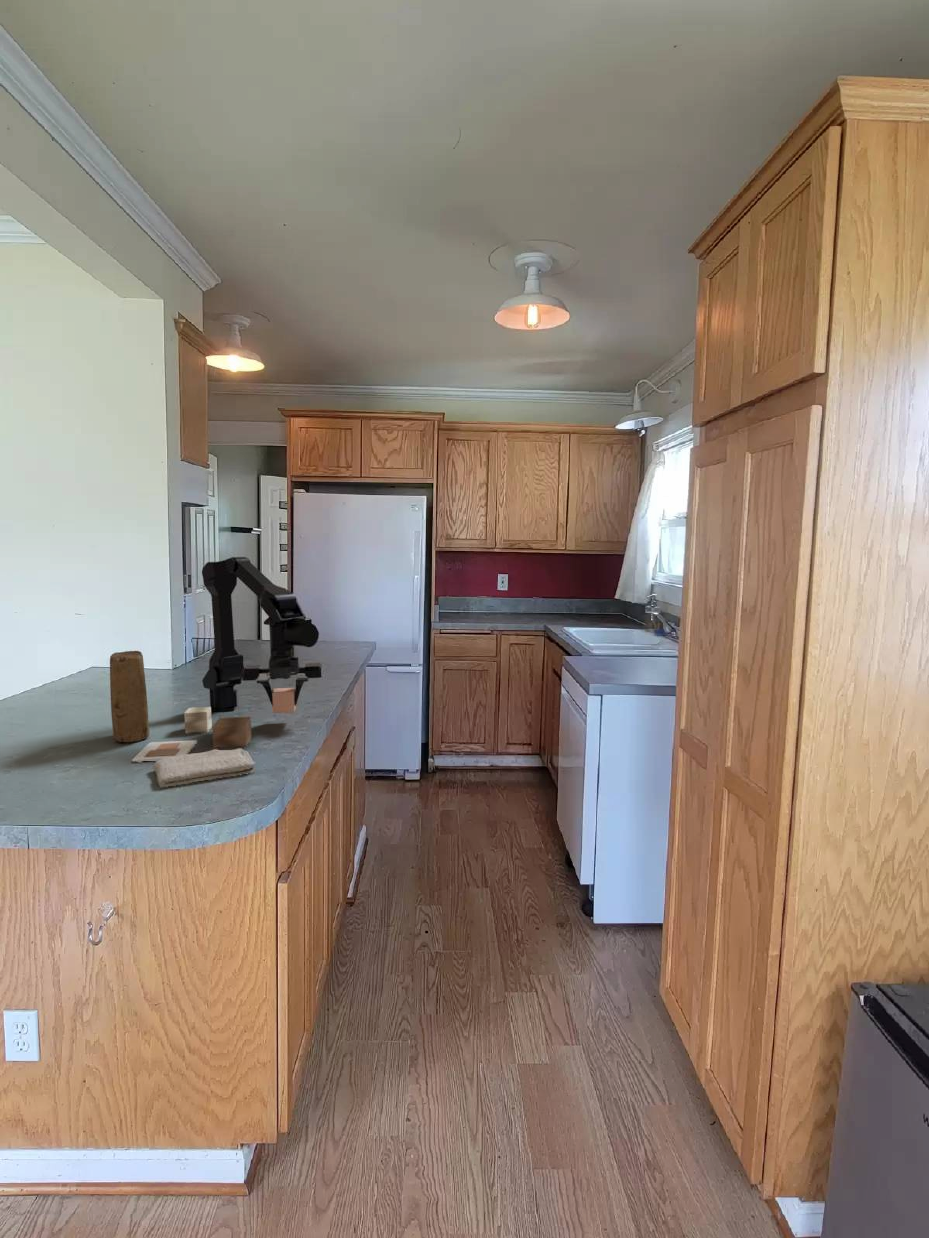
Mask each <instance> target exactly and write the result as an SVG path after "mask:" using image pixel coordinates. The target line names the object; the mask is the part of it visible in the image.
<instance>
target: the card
mask: <svg viewBox="0 0 929 1238" xmlns="http://www.w3.org/2000/svg"><path fill="white" fill-rule="evenodd" d="M195 744H196V745H197V744H198V739H197V740H196V739H194V740H174V741H172V740H171V741H158V742H157V741H155V742H154V741H153V742H149V743H148V744H146V745H145V746H144V748H142V749H141V751H139V752H138V754H136V755H135V756H134V758H132V759H131V762H132V761H148V760H161V759H163V758H170V757H176V756H181V755H186V754H190V752H191V751H192V750H193V749H194V747H195V746H196V745H195ZM191 749H192V750H191Z"/></svg>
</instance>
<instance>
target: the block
mask: <svg viewBox="0 0 929 1238" xmlns="http://www.w3.org/2000/svg"><path fill="white" fill-rule="evenodd" d="M144 663H145V662H144V656H143V653H142V652H141V651H140V650H139V651H138V650H127V651H126V650H125V651H121V652H114V653H112V654H111V655H110V658H109V682H110V684H109V686H110V692H109V693H110V712H111V722H112V723H111V724H112V731H113V733H112V734H113V739H114V740H115V742H117V743H121V742H123V743H135V742H139V741H142V739H143V740H145V739H147V738H149V736H150V724H149V722H150V721H149V720H150V719H149V706H148V697H147V685H146V675H145V664H144ZM134 741H135V742H134Z"/></svg>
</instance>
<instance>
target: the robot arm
mask: <svg viewBox="0 0 929 1238" xmlns="http://www.w3.org/2000/svg"><path fill="white" fill-rule="evenodd" d="M201 575H202V580H203V584H204V585H203V586H204V588H205V589H206V590H207V591H208V593H209V594H210V597H211V610H212V624H213V625H212V626H213V641H214V651H213V652H212V654H211V656H210V658H209V661H208V664H209V665H208V670H207V672H206V673H205V675H204V676H203V678H202V679H201V681H202V686H203V688H204V689H209V690H208V691H209V707H211V712H225V711H235V710H236V708H237V707H238V706H239V690H238V689H236V688H237V687H236V686H237V685H241V684H242V681H247V682H248V681H249V682H251V681H256V684H261V686H262V687H263V689H264V690H265V693H266V694H267V696H268V699H269V702H270V704H271V706H272V707H273V698H272V693H273V691H274V686H273V685H274V684H273V680H277V679H283V680H288V679H290V678H291V677H292V676H296V679H295V687H294V688H295V698H294V701H295V706H296V707H297V704H298V701H299V698H300V697H299V696H300V694H301V690H302V687H303V685H304V683H305V682H309V680H310V679H320V678H322V677H323V664H321V663H320V662H309V663H308V662H307V663H305V665H304V666H300V661H299V657H298V656H297V657H296V655H295V646H297V647H304V648H312V647H314V646H315V645H316V644H317V642H318V641H319V638H320V637H319V636H320V632H319V630H318V627H317V626H316V625H315V624H313V623H312V618H309V617H306V614H305V612H304V610H303V609H302V607H301V605H300V603H299V602H298V600H297V596H296V595H295V593H293V592H291V591H290V590H288V589H286V588H285V587H282V586H280V585H279V586H278V585H276V584H274V583H273V582H272V581H271V580H270V579H269V578H268V577H267V576H265V574H263V572H261V571H260V570H259V569H258V568H257V567H256V566H255V565H254V564H253V563H252V562H251V559H250V558H248V557H246V556H231V557H230V558H227V559H224V560H220V561H208V562H206V563H205V564H204V566H202V570H201ZM238 579H239V580H240V581H241V582H242V583H243V584H244V585H245V586H246V587H247V589H249V590H250V591H251V592H252V593H254V595H255V596H256V597H257V598H258V599H259V606H260V607H261V608H262V610H263V611H264V613H265V615H266V616H268V617H267V618H266V619H265V620H264V621H263V624H264V625H265V626H266V625H267V626H269V650H270V656H269V661H268V668H265V667H264V668H263V666H262V664H251V665H250V664H249V665H246V666H244V656H243V654H239V653H238V651H237V650H236V648H235V634H234V631H235V630H234V619H233V617H234V616H233V602H232V599H233V598H232V594H233V593H234V590H235V589H236V586H237V584H238Z"/></svg>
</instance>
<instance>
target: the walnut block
mask: <svg viewBox="0 0 929 1238" xmlns="http://www.w3.org/2000/svg"><path fill="white" fill-rule="evenodd" d="M251 718H252V717H251V716H240V717H239V716H237V717H218V719H217V720H216V722H215V723H214V724H212V727H211V728H212V729H211V730H212V743H213V744H212V746H213V749H217V748H216V747H221V748H231V747H230V746H241V747H247V746H248V744H249V743H248V742H250V741H251V738H252V737H253V735H252V719H251ZM249 740H250V741H249ZM228 746H229V747H228Z"/></svg>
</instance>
